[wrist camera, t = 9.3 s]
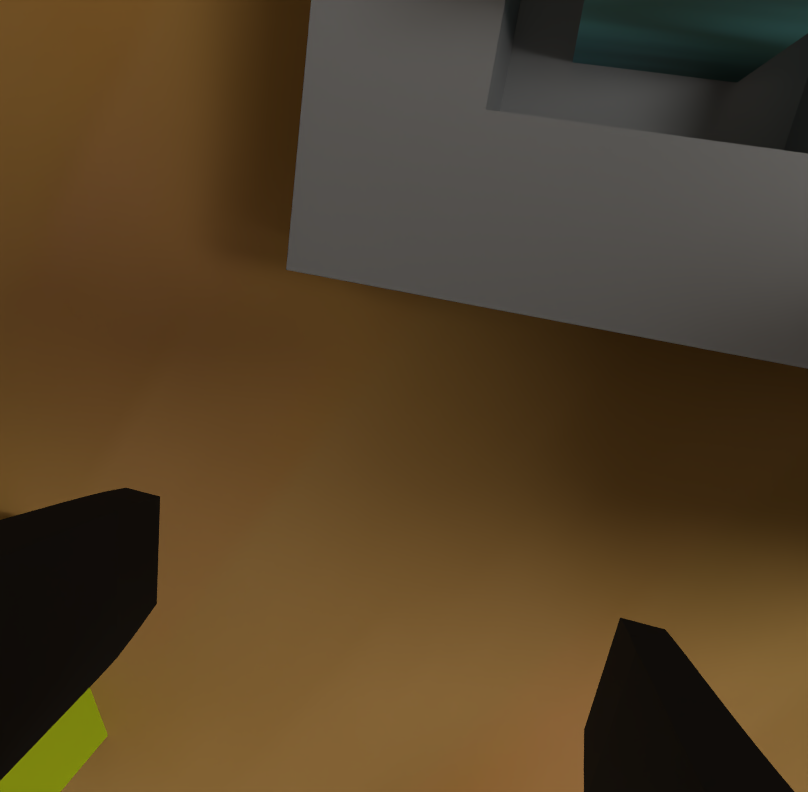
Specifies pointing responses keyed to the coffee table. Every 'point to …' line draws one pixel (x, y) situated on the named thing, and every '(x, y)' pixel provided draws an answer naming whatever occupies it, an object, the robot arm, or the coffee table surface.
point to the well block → (553, 175)
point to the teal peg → (689, 35)
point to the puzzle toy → (59, 750)
